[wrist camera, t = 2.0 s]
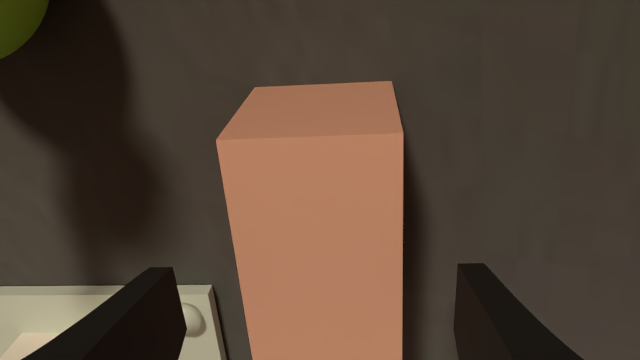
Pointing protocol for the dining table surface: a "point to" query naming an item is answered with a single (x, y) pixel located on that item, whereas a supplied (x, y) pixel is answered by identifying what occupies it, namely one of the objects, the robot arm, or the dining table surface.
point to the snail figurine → (19, 22)
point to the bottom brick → (27, 345)
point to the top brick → (318, 219)
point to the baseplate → (77, 301)
